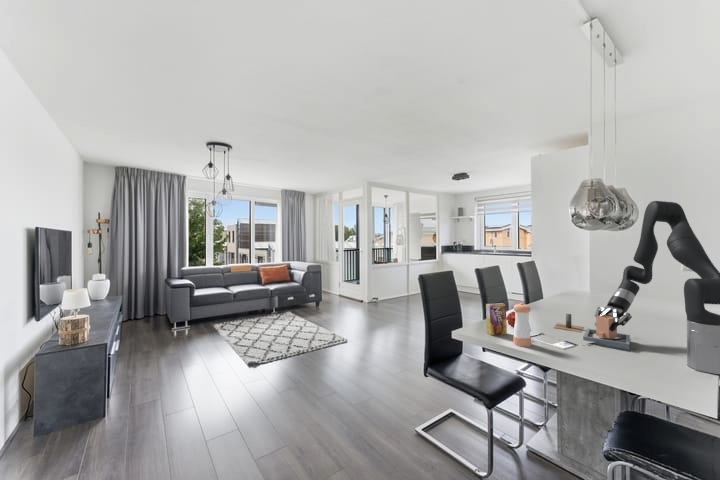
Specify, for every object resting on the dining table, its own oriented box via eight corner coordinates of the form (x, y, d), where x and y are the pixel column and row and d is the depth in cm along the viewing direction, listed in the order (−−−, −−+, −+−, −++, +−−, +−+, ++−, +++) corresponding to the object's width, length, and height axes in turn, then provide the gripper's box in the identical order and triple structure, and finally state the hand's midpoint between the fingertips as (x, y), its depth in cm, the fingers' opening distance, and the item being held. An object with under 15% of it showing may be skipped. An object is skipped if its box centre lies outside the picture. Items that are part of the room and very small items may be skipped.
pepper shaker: (521, 347, 136) (521, 304, 136) (509, 342, 143) (509, 301, 143) (535, 345, 138) (534, 303, 138) (522, 340, 145) (522, 300, 145)
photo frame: (563, 347, 133) (525, 336, 149) (563, 350, 133) (525, 338, 149) (582, 342, 139) (544, 331, 156) (582, 345, 139) (544, 334, 156)
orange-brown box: (617, 337, 140) (616, 317, 139) (607, 339, 138) (606, 319, 137) (604, 333, 145) (604, 314, 145) (594, 335, 143) (594, 316, 143)
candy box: (502, 332, 158) (502, 302, 158) (507, 334, 154) (506, 304, 154) (486, 332, 158) (485, 303, 157) (490, 335, 153) (490, 305, 153)
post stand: (581, 335, 151) (581, 318, 151) (553, 330, 159) (552, 314, 159) (584, 329, 160) (584, 313, 160) (557, 325, 168) (557, 310, 168)
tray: (629, 351, 130) (629, 344, 130) (583, 342, 141) (583, 336, 140) (629, 341, 142) (629, 334, 142) (587, 334, 152) (587, 328, 152)
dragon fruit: (510, 325, 175) (523, 335, 163) (499, 317, 174) (511, 326, 162) (519, 313, 174) (532, 322, 162) (508, 305, 173) (521, 314, 161)
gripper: (601, 292, 150) (583, 319, 147) (635, 298, 136) (617, 327, 133) (608, 302, 152) (591, 329, 148) (643, 308, 138) (625, 338, 135)
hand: (603, 328), depth 141 cm, fingers closed on orange-brown box, 5 cm apart
